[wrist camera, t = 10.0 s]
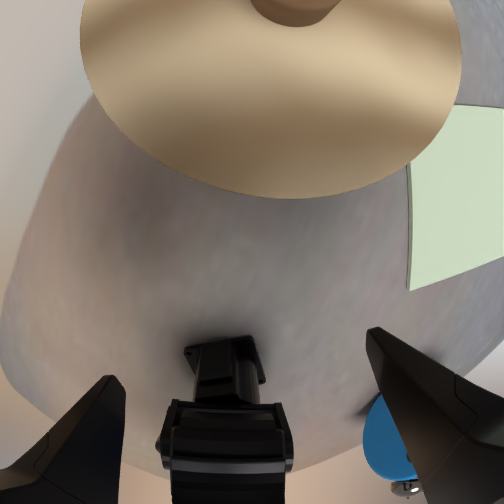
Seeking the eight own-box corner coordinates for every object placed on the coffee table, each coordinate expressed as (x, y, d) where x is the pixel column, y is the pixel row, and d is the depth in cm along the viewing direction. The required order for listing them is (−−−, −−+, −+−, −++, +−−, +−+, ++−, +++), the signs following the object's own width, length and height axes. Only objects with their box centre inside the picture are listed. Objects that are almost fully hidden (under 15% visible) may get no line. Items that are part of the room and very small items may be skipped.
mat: (508, 250, 23) (511, 252, 23) (406, 287, 24) (409, 290, 23) (513, 110, 17) (517, 110, 16) (399, 104, 17) (403, 104, 17)
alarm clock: (377, 420, 34) (408, 502, 20) (349, 416, 33) (378, 510, 19) (442, 360, 30) (494, 444, 16) (418, 350, 28) (477, 450, 14)
